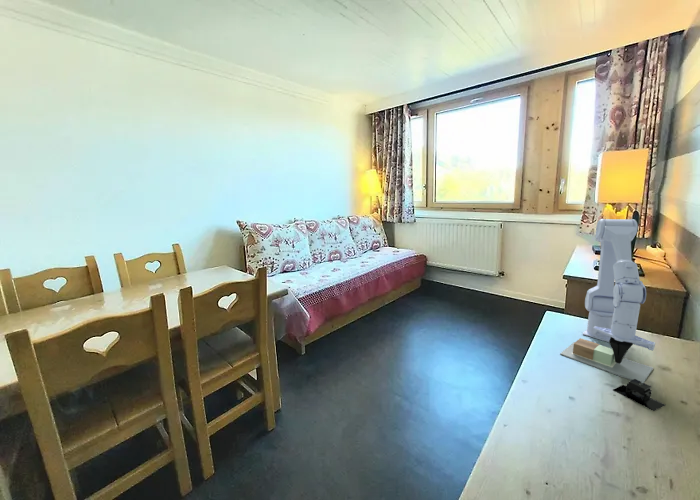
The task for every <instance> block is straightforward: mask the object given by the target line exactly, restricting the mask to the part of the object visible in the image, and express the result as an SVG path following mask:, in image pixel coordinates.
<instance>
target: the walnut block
mask: <svg viewBox="0 0 700 500" xmlns="http://www.w3.org/2000/svg"><path fill="white" fill-rule="evenodd" d="M574 342H575V343H574ZM574 342H573V343H574V347H573V353H574V354H577V355H579V356H582V357H585V358H588V359H591V360H593V354H594V349H595V348H596V347H597V346H598V345H601V344H599V343H597V342H594V341H590V340H587V339H585V338H581V337H580V338H579V339H577V340H576V341H574Z"/></svg>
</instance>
